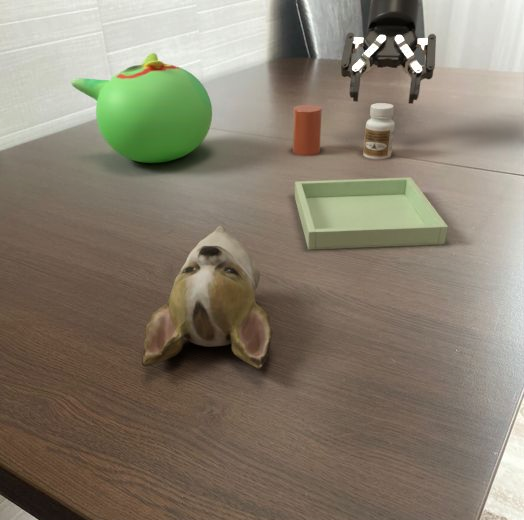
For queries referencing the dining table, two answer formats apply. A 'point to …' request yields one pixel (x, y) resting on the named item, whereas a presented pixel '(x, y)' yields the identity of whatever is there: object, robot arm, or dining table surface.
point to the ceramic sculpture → (212, 305)
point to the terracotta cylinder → (306, 129)
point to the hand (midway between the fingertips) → (383, 99)
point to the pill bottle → (379, 132)
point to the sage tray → (367, 214)
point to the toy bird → (151, 111)
